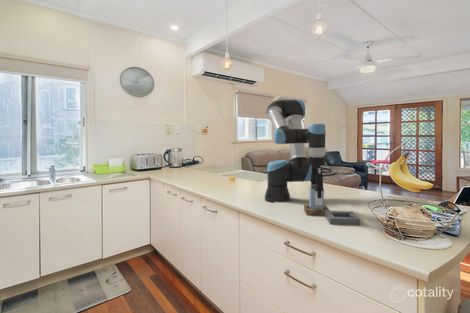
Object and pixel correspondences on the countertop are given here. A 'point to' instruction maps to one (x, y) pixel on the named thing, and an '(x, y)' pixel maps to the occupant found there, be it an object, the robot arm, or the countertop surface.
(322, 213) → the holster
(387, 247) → the countertop surface
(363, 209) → the countertop surface
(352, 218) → the port
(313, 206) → the plug
